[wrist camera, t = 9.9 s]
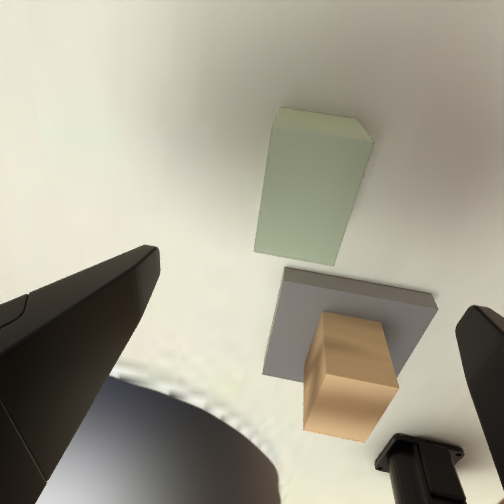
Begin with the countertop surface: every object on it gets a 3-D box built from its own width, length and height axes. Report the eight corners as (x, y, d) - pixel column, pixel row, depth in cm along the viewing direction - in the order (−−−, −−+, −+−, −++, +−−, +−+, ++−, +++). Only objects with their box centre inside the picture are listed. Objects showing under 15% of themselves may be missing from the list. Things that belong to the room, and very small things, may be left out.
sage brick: (327, 220, 20) (333, 266, 15) (264, 209, 20) (253, 251, 16) (356, 118, 16) (374, 141, 12) (280, 106, 17) (272, 125, 12)
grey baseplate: (380, 382, 27) (383, 398, 26) (264, 359, 27) (262, 374, 26) (430, 293, 21) (438, 309, 20) (284, 267, 22) (283, 280, 21)
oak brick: (354, 376, 25) (364, 442, 20) (303, 366, 25) (303, 430, 21) (380, 322, 21) (399, 388, 17) (322, 311, 21) (326, 373, 17)
